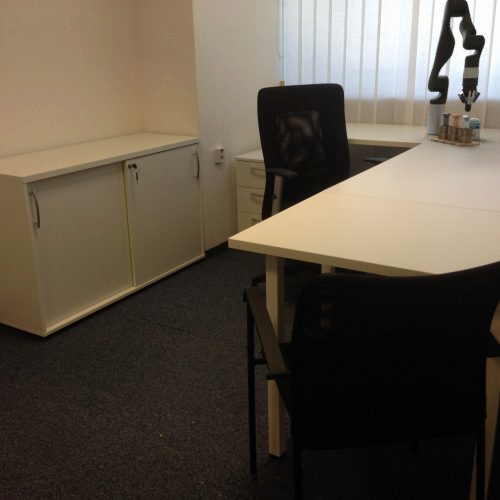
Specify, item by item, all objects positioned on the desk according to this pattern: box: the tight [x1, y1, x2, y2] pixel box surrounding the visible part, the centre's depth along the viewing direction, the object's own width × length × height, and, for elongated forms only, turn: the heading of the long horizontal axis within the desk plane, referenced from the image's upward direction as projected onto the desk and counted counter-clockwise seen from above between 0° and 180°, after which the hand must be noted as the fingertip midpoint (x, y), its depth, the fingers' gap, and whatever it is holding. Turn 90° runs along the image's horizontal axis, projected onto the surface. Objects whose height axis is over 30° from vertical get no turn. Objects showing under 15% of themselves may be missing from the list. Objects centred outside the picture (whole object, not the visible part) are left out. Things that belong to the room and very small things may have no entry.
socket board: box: [429, 125, 481, 148], centre depth 312 cm, size 25×12×8 cm, turn 21°
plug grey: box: [461, 115, 473, 130], centre depth 303 cm, size 4×4×9 cm
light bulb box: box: [462, 117, 482, 141], centre depth 324 cm, size 11×7×11 cm, turn 179°
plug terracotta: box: [451, 113, 462, 128], centre depth 310 cm, size 4×4×9 cm
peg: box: [442, 112, 452, 126], centre depth 317 cm, size 4×4×9 cm
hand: (467, 111), depth 301 cm, fingers closed
